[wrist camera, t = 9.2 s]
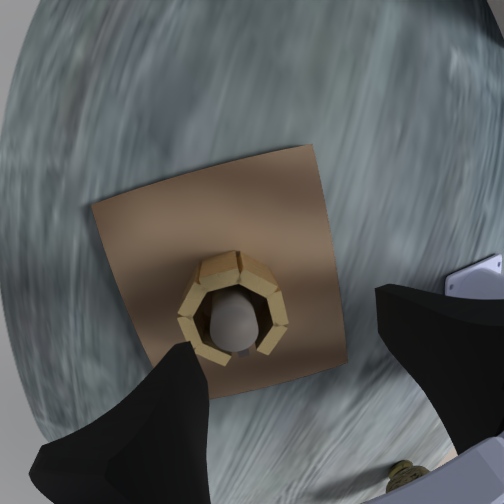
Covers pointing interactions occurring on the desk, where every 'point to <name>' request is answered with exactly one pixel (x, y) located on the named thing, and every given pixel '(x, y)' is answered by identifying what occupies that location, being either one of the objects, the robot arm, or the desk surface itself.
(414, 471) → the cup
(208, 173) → the post stand
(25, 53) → the desk surface
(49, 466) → the robot arm
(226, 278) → the brass collar
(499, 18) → the miniature monument
